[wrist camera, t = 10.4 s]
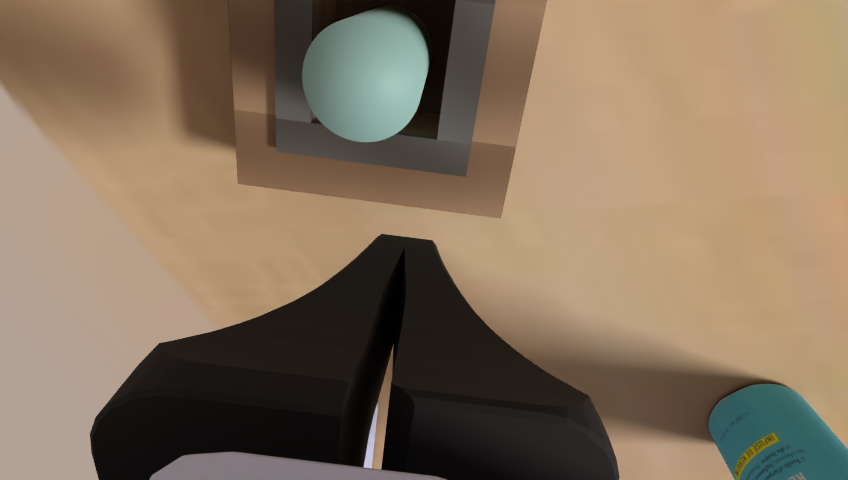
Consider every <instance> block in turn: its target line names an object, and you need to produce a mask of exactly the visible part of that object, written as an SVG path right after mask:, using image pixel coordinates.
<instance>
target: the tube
mask: <svg viewBox="0 0 848 480" xmlns="http://www.w3.org/2000/svg"><path fill="white" fill-rule="evenodd" d="M708 426H709V431H710V433H711V436H712V438H713V440H714V441H715V443H716V445H717V447H718V449H719V451H720V453H721V455H722V457H723V458H724V460H725V462H726V464H727V466H728V468H729V470H730V471H731V473H732V475H733V477H734V479H735V480H848V449H847V448H846V447H845V446H844V444H843V443H842V442H841V441H840V440H839V439H838V438H837V436H836V435H835V434H834V433H833V432H832V431H831V430H830V428H829V427H828V426H827V425H826V424H825V423H824V421H823V420H822V419H821V418H820V417H819V416H818V415H817V413H816V412H815V411H814V410H813V409H812V408H811V407H810V406H809V404H808V403H807V402H806V401H805V400H804V399H803V398H802V396H801V395H799V394H798V393H797V392H796V391H794V390H792V389H791V388H788V387H785V386H782V385H776V384H756V385H751V386H748V387H745V388H743V389H740V390H738V391H736V392H734V393H732V394H730V395H728V396H727V397H725V398H723V399H722V400H720V401H719V402H718V403H717V405H716V406H715V408H714V409H713V411H712V412H711V415H710V418H709V424H708Z"/></svg>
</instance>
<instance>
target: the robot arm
mask: <svg viewBox="0 0 848 480" xmlns="http://www.w3.org/2000/svg"><path fill="white" fill-rule="evenodd" d="M393 343H394V349H393V376H392V382H391V390H390V399H389V408H388V417H387V426H386V434H385V443H384V452H383V461H382V469H381V470H380V469H372V459H373V450H374V441H375V431H376V422H377V413H378V403H377V402H378V398H379V394H380V391H381V387H382V384H383V380H384V376H385V373H386V369H387V365H388V362H389V358H390V354H391V351H392V347H393ZM90 439H91V450H92V456H93V459H94V463H95V467H96V471H97V474H98V478H99V480H619V472H618V466H617V460H616V457H615V454H614V451H613V448H612V445H611V442H610V440H609V437H608V435H607V432H606V430H605V428H604V425H603V423H602V421H601V419H600V417H599V415H598V413H597V411H596V409H595V407H594V405H593V403H592V401H591V399H590V397H589V396H588V395H586V394H584V393H582V392H581V391H579V390H577V389H575V388H573V387H572V386H570V385H568V384H566V383H564V382H563V381H561V380H559V379H557V378H555V377H554V376H552V375H550V374H549V373H547V372H545V371H544V370H542V369H541V368H540V367H538V366H537V365H535V364H534V363H532V362H531V361H529V360H528V359H526V358H525V357H524V356H522V355H521V354H520V353H518V352H517V351H516V350H514V349H513V348H512V347H511V346H510V345H508V344H507V343H506V342H505V341H504V340H503V339H501V338H500V337H499V336H498V335H497V334H496V333H495V332H494V331H493V330H491V329H490V328H489V327H488V326H487V325H486V324H485V323H484V321H483V320H482V319H481V318H480V317H479V316H478V315H477V314H476V313H475V312H474V310H473V309H472V308H471V307H470V305H469V304H468V302H467V301H466V300H465V298H464V297H463V296H462V294H461V293H460V291H459V290H458V288H457V287H456V285H455V283H454V282H453V280H452V278H451V276H450V275H449V273H448V271H447V269H446V268H445V266H444V264H443V261H442V259H441V257H440V255H439V252H438V250H437V247H436V245H435V243H434V242H433V241H432V240H425V239H417V238H409V237H401V236H393V235H385V234H381V235H380V236H378V237H377V238H376V239H375V240H374V241H373V242H372V243H371V244H370V245H369V246H368V247H367V248H366V249H365V250H364V251H363V252H362V253H361V254H360V255H359V256H357V257H356V258H355V259H354V260H353V261H352V262H351V263H349V264H348V265H347V266H346V267H345V268H344V269H342V270H341V271H340V272H339V273H337V274H336V275H334V276H333V277H332V278H330V279H329V280H328V281H326V282H325V283H324V284H322V285H321V286H319V287H318V288H316V289H315V290H313V291H311V292H309V293H308V294H306V295H304V296H302V297H301V298H299V299H297V300H295V301H293V302H291V303H289V304H286V305H284V306H282V307H280V308H277V309H275V310H273V311H271V312H268V313H266V314H264V315H262V316H259V317H256V318H253V319H251V320H248V321H245V322H242V323H239V324H236V325H233V326H230V327H226V328H223V329H220V330H216V331H213V332H209V333H204V334H200V335H196V336H191V337H187V338H183V339H178V340H174V341H169V342H164V343H159V344H158V345H157V346H156V347H155V348H154V349H153V350H152V351H151V353H149V354H148V356H147V357H146V358H145V359H144V360H143V361H142V362H141V363H140V364H139V365H138V366H137V367H136V369H135V370H134V371H133V372H132V373H131V375H130V376H129V377H128V378H127V379H126V381H125V382H124V383H123V384H122V386H121V387H120V388H119V389H118V391H117V392H116V393H115V394H114V396H113V397H112V398H111V400H110V401H109V402H108V403H107V404H106V405H105V407H104V408H103V409H102V410H101V411H100V413H99V414H98V415H97V416H96V418H95V422H94V424H93V427H92V430H91V433H90Z"/></svg>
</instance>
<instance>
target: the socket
mask: <svg viewBox="0 0 848 480" xmlns="http://www.w3.org/2000/svg"><path fill="white" fill-rule="evenodd" d="M546 3H547V0H455V4H454V11H453V18H452V26H451V33H450V41H449V48H448V55H447V63H446V70H445V78H444V85H443V92H442V100H441V107H440V115H435V114H427V113H420V112H415V114H414V116H413V117H412V119H411V120H410V121H409V123H408V124H407V125H406V126H405V127H404V128H403V129H402V130H400V131H399V132H398V133H396V134H395V135H393V136H391V137H389V138H386V139H384V140H380V141H376V142H357V141H352V140H348V139H345V138H343V137H340V136H339V135H337V134H335V133H333V132H332V131H330V130H329V129H328V128H326V127H325V126H324V125H323V124H322V123H321V122H320V121H319V120H318V118H317V117H316V116H315V114H314V113H313V111H312V110H311V108H310V106H309V104H308V102H307V99H306V96H305V93H304V89H303V82H302V70H303V63H304V59H305V56H306V53H307V51H308V48H309V47H310V45H311V43H312V42H313V40H314V39H315V38H316V37H317V35H318V34H319V33H320V32H322V31H323V30H324V29H325V28H327V27H328V26H330V25H331V24H333V23H335V19H336V0H228V8H229V27H230V45H231V64H232V83H233V102H234V121H235V139H236V158H237V177H238V184H243V185H251V186H259V187H266V188H274V189H281V190H289V191H297V192H304V193H312V194H319V195H327V196H334V197H342V198H350V199H357V200H365V201H372V202H380V203H387V204H395V205H403V206H410V207H418V208H425V209H433V210H441V211H448V212H456V213H463V214H471V215H478V216H486V217H494V218H501V215H502V211H503V206H504V201H505V196H506V192H507V187H508V182H509V177H510V173H511V168H512V163H513V159H514V154H515V149H516V144H517V140H518V135H519V130H520V125H521V121H522V116H523V111H524V107H525V102H526V97H527V92H528V88H529V83H530V78H531V73H532V69H533V64H534V59H535V55H536V50H537V45H538V40H539V36H540V31H541V26H542V21H543V17H544V12H545V7H546Z"/></svg>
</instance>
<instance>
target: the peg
mask: <svg viewBox="0 0 848 480" xmlns="http://www.w3.org/2000/svg"><path fill="white" fill-rule="evenodd" d="M431 57H432V44H431V39H430V36H429V33H428V31H427V29H426V27H425V25H424V24H423V22H422V21H421V20H420V19H419V18H418V17H417V16H416V15H415V14H414V13H412V12H411V11H409V10H407V9H405V8H402V7H399V6H393V5H386V6H380V7H377V8H374V9H371V10H368V11H366V12H363V13H360V14H357V15H354V16H351V17H349V18H346V19H343V20H340V21H337V22H335V23H333V24H331V25H330V26H328V27H327V28H325V29H324V30H323V31H322V32H320V33H319V34H318V35H317V37H316V38H315V39H314V40H313V42H312V43H311V45H310V47H309V48H308V51H307V53H306V56H305V59H304V63H303V70H302V82H303V89H304V93H305V96H306V99H307V102H308V104H309V106H310V108H311V110H312V111H313V113H314V114H315V116H316V117H317V118H318V120H319V121H320V122H321V123H322V124H323V125H324V126H325V127H326V128H328V129H329V130H330V131H332V132H333V133H335V134H337V135H339V136H340V137H343V138H345V139H348V140H352V141H357V142H376V141H380V140H384V139H386V138H389V137H391V136H393V135H395V134H396V133H398V132H399V131H400V130H402V129H403V128H404V127H405V126H406V125H407V124H408V123H409V121H410V120H411V119H412V117H413V116H414V114H415V112H416V110H417V108H418V105H419V103H420V99H421V95H422V92H423V88H424V84H425V81H426V77H427V73H428V70H429V66H430V62H431Z"/></svg>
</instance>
